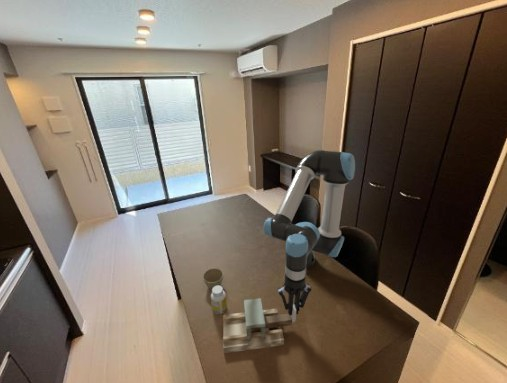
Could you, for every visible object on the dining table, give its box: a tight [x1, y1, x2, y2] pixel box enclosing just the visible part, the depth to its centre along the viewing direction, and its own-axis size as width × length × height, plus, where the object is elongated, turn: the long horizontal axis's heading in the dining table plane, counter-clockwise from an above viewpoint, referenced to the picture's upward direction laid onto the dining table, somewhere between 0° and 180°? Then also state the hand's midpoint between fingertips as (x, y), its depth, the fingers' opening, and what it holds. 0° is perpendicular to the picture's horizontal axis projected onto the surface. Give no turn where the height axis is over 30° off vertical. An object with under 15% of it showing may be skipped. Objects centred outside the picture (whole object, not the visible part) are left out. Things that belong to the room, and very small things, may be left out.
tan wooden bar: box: [250, 313, 293, 333], centre depth 91 cm, size 18×5×5 cm, turn 97°
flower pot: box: [202, 268, 224, 290], centre depth 115 cm, size 10×10×7 cm
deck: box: [222, 297, 285, 354], centre depth 91 cm, size 23×14×12 cm, turn 97°
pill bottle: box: [210, 285, 228, 315], centre depth 101 cm, size 6×6×12 cm
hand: (292, 319), depth 93 cm, fingers closed
